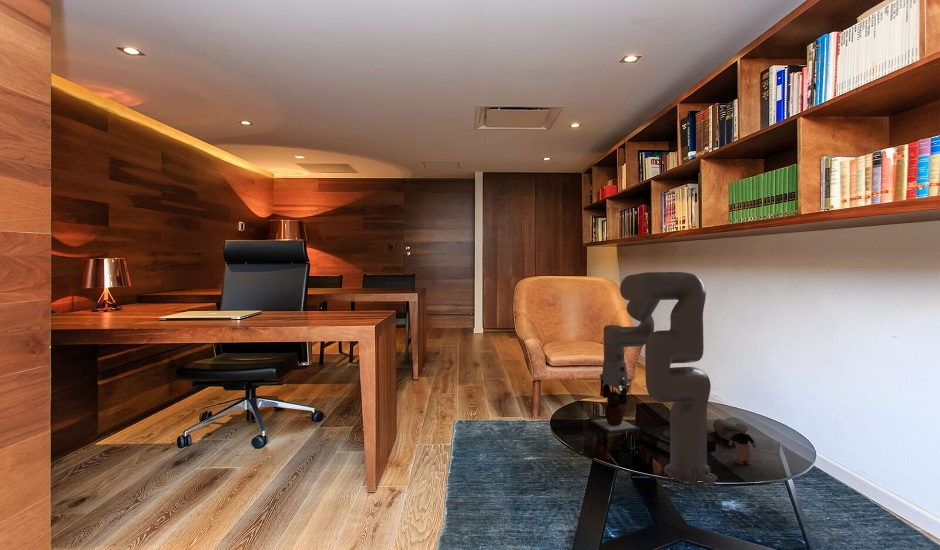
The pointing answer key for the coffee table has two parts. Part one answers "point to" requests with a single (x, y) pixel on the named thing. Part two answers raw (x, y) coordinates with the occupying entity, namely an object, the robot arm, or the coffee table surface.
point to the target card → (614, 426)
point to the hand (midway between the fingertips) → (614, 400)
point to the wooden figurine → (613, 408)
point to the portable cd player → (666, 439)
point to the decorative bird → (725, 429)
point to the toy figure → (742, 443)
